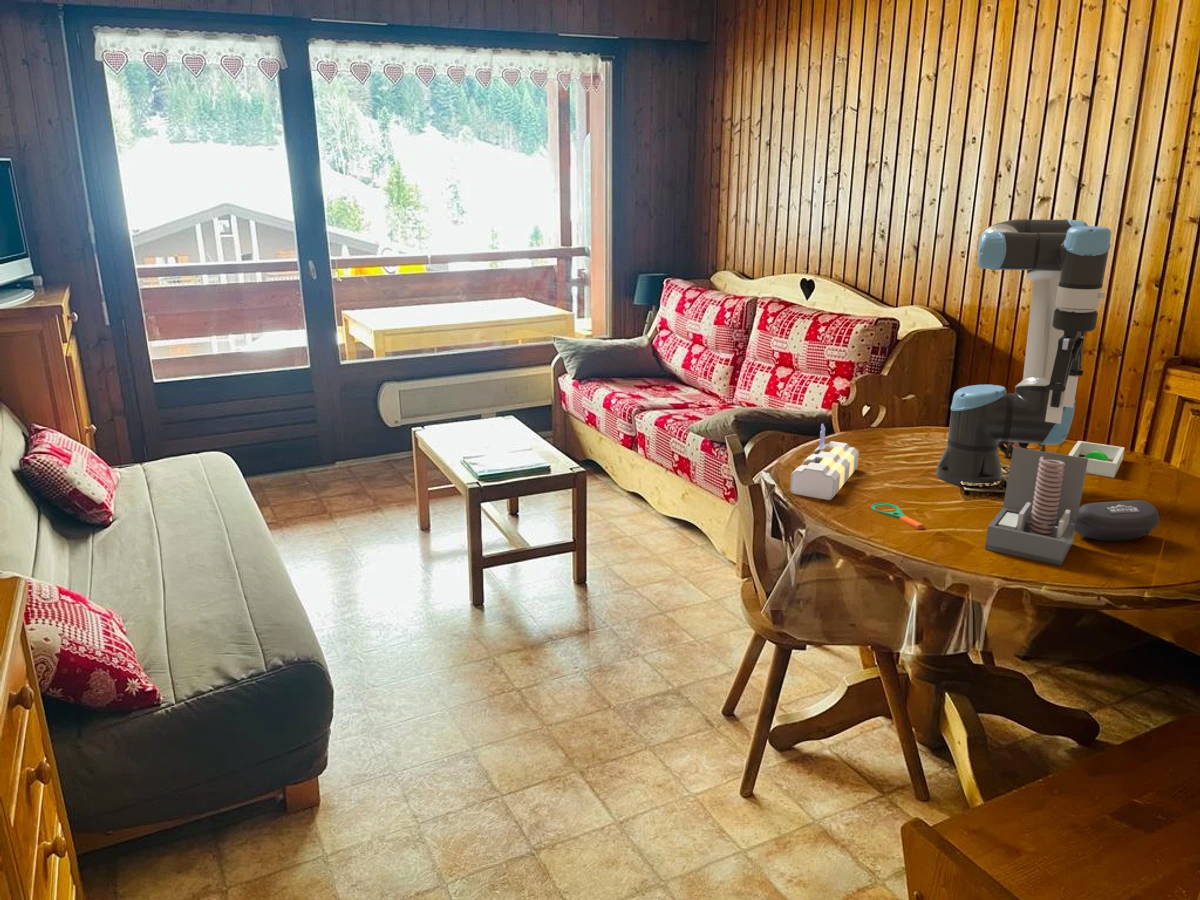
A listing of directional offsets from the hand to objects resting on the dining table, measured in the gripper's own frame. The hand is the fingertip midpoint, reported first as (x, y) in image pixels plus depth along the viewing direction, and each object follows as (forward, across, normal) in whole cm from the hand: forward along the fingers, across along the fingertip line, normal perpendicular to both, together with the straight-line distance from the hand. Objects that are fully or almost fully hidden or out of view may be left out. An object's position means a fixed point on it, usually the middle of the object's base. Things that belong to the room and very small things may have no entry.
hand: (1059, 414), depth 175 cm
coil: (+26, -7, -1) cm, 27 cm away
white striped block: (+28, +4, +50) cm, 57 cm away
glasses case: (+27, +8, -12) cm, 31 cm away
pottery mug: (+29, +53, +16) cm, 62 cm away
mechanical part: (+31, +50, -6) cm, 59 cm away
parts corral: (+28, +58, -2) cm, 65 cm away
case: (+26, -8, +1) cm, 28 cm away
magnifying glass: (+27, -8, +28) cm, 39 cm away
